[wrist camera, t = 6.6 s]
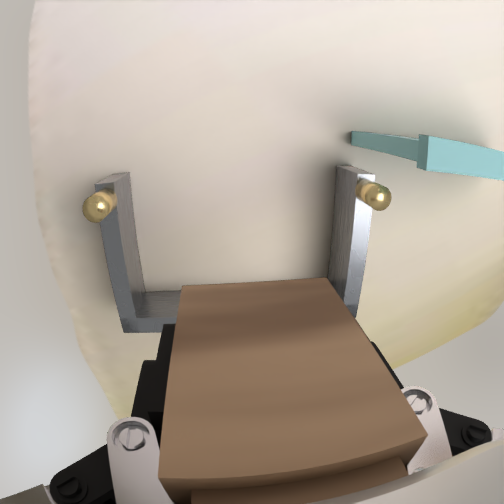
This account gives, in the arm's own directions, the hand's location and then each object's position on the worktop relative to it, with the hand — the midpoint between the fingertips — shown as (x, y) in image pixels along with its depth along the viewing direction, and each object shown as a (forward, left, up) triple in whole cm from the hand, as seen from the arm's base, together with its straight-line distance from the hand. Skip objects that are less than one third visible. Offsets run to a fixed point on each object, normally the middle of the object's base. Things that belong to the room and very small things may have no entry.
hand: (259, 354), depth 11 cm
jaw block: (0, 0, -1) cm, 1 cm away
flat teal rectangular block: (-7, +16, -12) cm, 21 cm away
